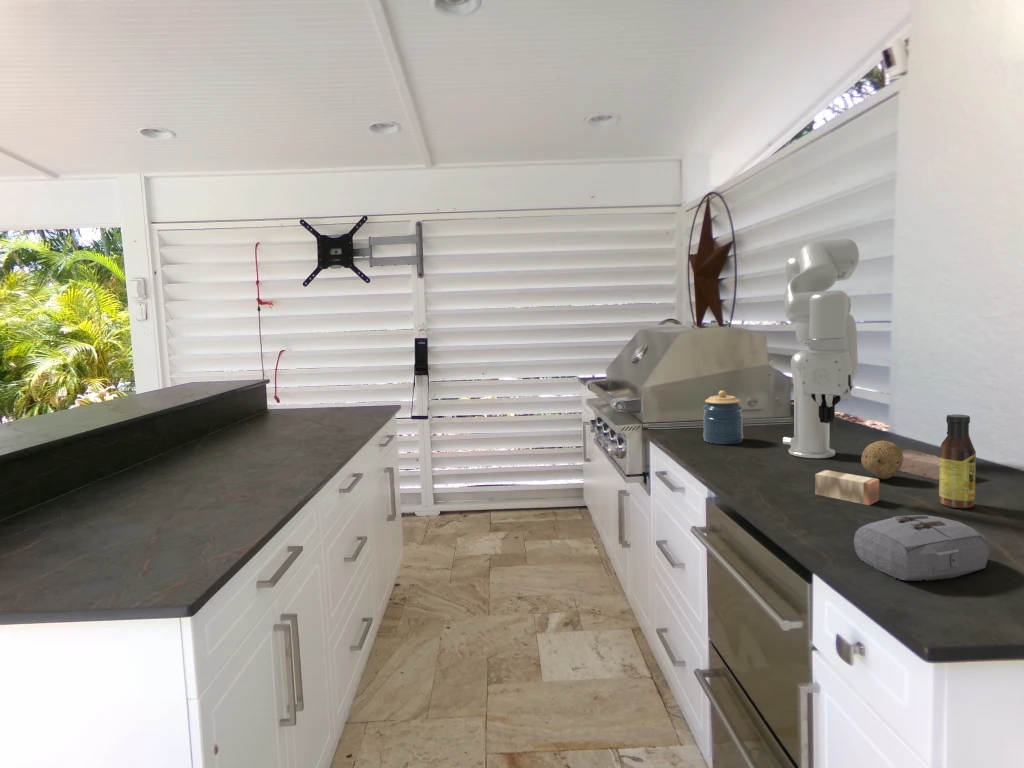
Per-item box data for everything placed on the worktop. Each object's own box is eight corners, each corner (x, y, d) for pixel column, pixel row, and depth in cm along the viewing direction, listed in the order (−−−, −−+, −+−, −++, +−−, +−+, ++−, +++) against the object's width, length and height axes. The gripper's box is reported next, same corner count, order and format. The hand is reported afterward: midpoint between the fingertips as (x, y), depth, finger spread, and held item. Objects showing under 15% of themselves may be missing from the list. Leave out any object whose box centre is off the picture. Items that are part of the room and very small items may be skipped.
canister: (699, 443, 199) (698, 392, 197) (708, 436, 210) (707, 387, 208) (739, 446, 192) (738, 393, 190) (746, 438, 203) (746, 388, 201)
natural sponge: (880, 485, 144) (880, 446, 143) (852, 476, 152) (853, 439, 151) (911, 481, 146) (912, 442, 144) (882, 472, 154) (882, 435, 153)
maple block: (815, 474, 140) (869, 483, 130) (825, 469, 143) (879, 479, 133) (815, 494, 140) (869, 505, 131) (825, 489, 143) (878, 500, 134)
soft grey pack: (913, 592, 92) (1015, 574, 96) (914, 541, 91) (1017, 525, 95) (841, 555, 106) (932, 541, 110) (841, 511, 106) (933, 498, 109)
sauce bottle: (976, 511, 123) (979, 419, 121) (940, 507, 127) (942, 417, 125) (972, 502, 129) (975, 413, 127) (937, 498, 132) (939, 412, 130)
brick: (973, 479, 146) (974, 460, 145) (950, 484, 143) (951, 465, 142) (909, 465, 161) (909, 448, 161) (887, 469, 158) (887, 452, 158)
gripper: (787, 346, 141) (787, 420, 143) (853, 348, 129) (852, 429, 131) (804, 343, 145) (803, 415, 148) (868, 344, 133) (867, 423, 135)
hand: (826, 421), depth 139 cm, fingers closed
